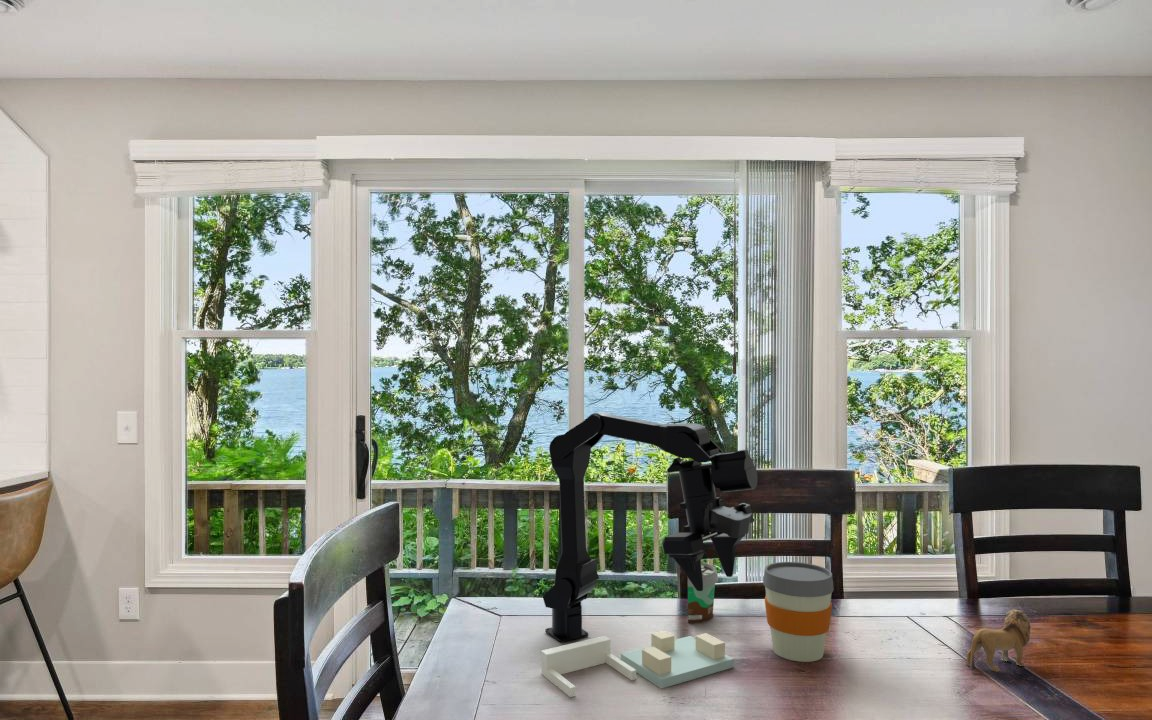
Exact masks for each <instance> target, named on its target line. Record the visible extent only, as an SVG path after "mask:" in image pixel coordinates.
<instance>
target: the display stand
mask: <svg viewBox="0 0 1152 720" xmlns="http://www.w3.org/2000/svg"><path fill="white" fill-rule="evenodd" d="M650 636H651V637H650V639H651V642H650V643H651V645H649V646H644V647H641V648H637V649H634V650H630V651H629V650H628V651H625V652H621V653H620V660H622V661H623V662H625V663H626V664H628V665H629V666H631V667H632V668H634V669H636V674H639V675H640V676H642V677H643V678H645V679H646V680H647V681H649V682H651V683H653V684H654V685H655V686H656V687H659V688H660V689H664V688H668V687H672V686H675V685H678V684H682V683H685V682H688V681H691V680H695V679H699V678H702V677H705V676H709V675H713V674H716V673H719V672H722V671H725V670H729V669H733V668H734V667H735V658H733V657H732V656H729V654H726V643H725V641H723V640H721V639H719V638H717V637H714V636H713V635H710V634H709V633H707V632H706V633H701V634H698V635H695V637H693V636H691V635H689V636H684V637H679V638H676V639H675V635H674V634H673V633H670V632H669V631H666V630H665V629H664V630H660V631H656V632H651V635H650Z"/></svg>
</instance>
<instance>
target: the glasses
mask: <svg viewBox="0 0 1152 720" xmlns="http://www.w3.org/2000/svg"><path fill="white" fill-rule="evenodd" d="M611 643H612V640H611V638H609V637H607V636H606V635H602V636H598V637H592V638H589V639H585V640H579V641H576V642H573V643H567V644H564V645H560V646H554V647H550V648H546V649H542V650H541V652H540V653H541V655H540V656H541V657H540V659H541V660H540V661H541V664H540V665H541V672H540V673H541V675H542V676H544V677H545V678H546V679H547V680H548V681H550V682H551V683H552V684H553V685H554V686H556V687H557V688H559V690H560V691H562V692H563V693H564V694H565V695H566V696H568V697H569V698H573V697H576V696H577V695H576V694H577V693H576V692H577V689H576V688H577V687H576V685H574V683H571V681H569V680H568V679H566V677H564V676H563V675H564V674H567V673H572V672H575V671H580V670H584V669H588V668H592V667H596V666H599V665H602V664H603V665H604V664H607V665H608V666H610V667H611V668H613V669H614V670H616V671H617V672H619V673H620V674H622V675H623V676H624V677H626V678H628V679H629V680H631V681H634V680H637V672H636V669H634V668H632V667H631V666H629V665H628V664H626V663H625V662H623V661H622V660H621V658H619V657H617V656H616V655H614V654H612V652H611V649H612V647H611V645H612V644H611Z"/></svg>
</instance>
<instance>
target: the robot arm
mask: <svg viewBox="0 0 1152 720" xmlns="http://www.w3.org/2000/svg"><path fill="white" fill-rule="evenodd" d="M604 436H608V437H613V438H618V439H623V440H628V441H632V442H638V443H643V444H646V445H647V444H648V445H652V446H655V447H657V448H659V449H660V450H662V451H663V452H665V453H668V454H670V455H673V456H675V458H674V459H673V460H672V463H671V464H670V466H669V467H668V468H666V471H667V473H677V472H678V475H679V481H680V484H681V490H682V497H683V502H679V507H680V510H685V514H686V519H687V525H684V526H683V531H684V532H675V533H672V534H670V535H667V536H664V538H663V539H662V541H661V544H662V552H663V554H664V555H668V557H669V558H672V559H673V560H674V561H675V562H676V564H677V565H679V567H680V568H681V570H682V571H683V572H684V574H685V575H686V577H687V579H688V578H689V580H690V581H691V583H692V584H693V586H694V587H695V589H696V590H697V591H703V578H702V569H701V562H702V561H701V560H702V558H703V557H704V555H705V553H706V550H703V546H704V542H705V541H707V540H710V539H711V541H712V545H713V547H714V550H715V553H716V555H717V557H718V560H719V563H720V564H721V567H722V570H723V572H724V574H725V577H727V578H731V577H733V575H734V568H735V567H734V566H735V559H736V554H737V553H736V551H737V548H738V547H737V546H738V544H739V543H740V542H741V541H742V539H743V538H744V537H745V536H747V534H749V532H750V525H751V524H752V523H755V518H754V517H753V515H754V514H753V510H752V507H751V504H749V503H746V502H741V503H739V504H737V505H736V507H735V506H732V507H728V506H725V502H724V499H722V496H717V492H716V489H719V490H720V492H722V493H729V492H738V491H740V492H741V491H748V490H755V489H756V488H757V486H758V471H757V467H756V465H755V463H754V461H753V459H752V457H751V456H750V454H749V450H748V449H740V450H737V451H731V452H724V451H723V450H722V449H721V448H720V446H718V444H716V443H715V441H714V440H712V438H711V437H710V434H709V431H708V430H707V429H706V427H705V426H704V425H702V424H700V423H694V422H693V423H691V422H689V423H686V422H685V423H684V422H683V423H680V422H679V423H658V422H655V421H647V420H643V419H637V418H632V417H626V416H621V415H616V414H615V415H614V414H611V413H610V412H609V413H608V412H605V411H604V412H603V411H602V412H601V411H600V412H594V413H591V414H589V415H588V417H587V418H585V419H584V420H583V421H582V422H580V423H579V424H577V425H575V426H574V427H572V428H570V429H569V430H567V432H565V433H564V434H563V433H562V434H559V435H556V436H554V438H553V439H552V440H551V441H550V444H549V448H548V449H549V451H548V452H549V456H550V461H551V466H552V469H553V471H554V472H555V474H556V476H557V479H558V482H559V484H558V485H559V505H560V506H559V509H560V534H561V535H560V537H561V539H560V540H561V554H560V557H559V559H558V562H557V565H556V567H555V575H554V582H553V583H554V584H553V586H552V587H550V589H548V591H547V592H546V593H545V594H544V595H543V596H542V598H543V602H544V603H543V604H544V606H545V608H550V609H551V627H547V628H545V632H546V633H547V635H549V636H551V637H552V638H553V639H555V640H557V641H558V642H560V643H563V642H567V641H572V640H575V639H580V638H585V637H588V636H589V632H588V631H586V630H585V629H583V615H582V613H583V612H582V608H583V607H582V602H583V601H584V600H587V599H588V598H589V594H590V592H591V591H592V590H593V589H594V588H596V587H595V586H596V585H597V580H599V579H600V577H599V574H598V562H599V561H598V559H597V558H591V557H590V555H589V553H588V550H587V535H586V533H587V531H586V507H585V505H586V504H585V503H586V502H585V484H584V483H585V482H584V481H585V476H586V472H587V470H588V467H589V466H590V465H589V464H590V459H591V454H592V453H591V452H592V450H591V449H592V448H594V447H595V446H596V445H597V444H598V443H599V442H600V441H601V440H602V439H603V438H604ZM688 458H689V459H691V460H684V459H688ZM707 462H709V463H707Z"/></svg>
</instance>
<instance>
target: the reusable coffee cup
mask: <svg viewBox="0 0 1152 720" xmlns="http://www.w3.org/2000/svg"><path fill="white" fill-rule="evenodd" d="M762 579H763V580H762V584H763V586H764V587H765V597H764V605H765V606H764V607H765V614H766V622H767V624H768V626H769V629H770V637H771V645H772V650H773V652H774V653H775V654H776V655H777V656H779V657H781V658H783V659H785V660H789V661H794V662H800V663H801V662H803V663H810V662H816V661H819V660H822V659H823V656H824V651H825V645H826V638H827V637H826V636H827V633H828V632H829V630H830V626H831V619H832V611H833V610H832V609H833V603H832V602H831V600H832V593H834V581H833V573H832V572H831V571H830V570H829V569H828V568H826V567H823V566H820V565H817V564H814V563H813V564H811V563H807V562H806V563H805V562H800V561H799V562H797V561H781V562H779V561H778V562H773V563H770V564H767V565H766V566H765V567H764V571H763V578H762Z"/></svg>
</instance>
